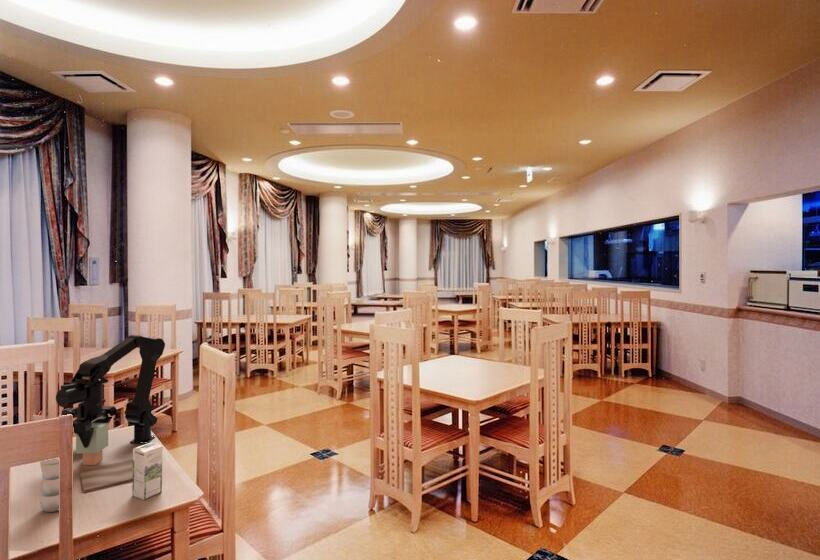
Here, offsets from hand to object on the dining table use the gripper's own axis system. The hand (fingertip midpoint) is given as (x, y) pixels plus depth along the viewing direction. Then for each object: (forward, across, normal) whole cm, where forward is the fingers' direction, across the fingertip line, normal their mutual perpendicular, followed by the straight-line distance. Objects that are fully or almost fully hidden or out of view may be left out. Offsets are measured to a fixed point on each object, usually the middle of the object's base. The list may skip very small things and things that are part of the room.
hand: (92, 443), depth 158 cm
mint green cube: (+2, 0, 0) cm, 2 cm away
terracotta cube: (+7, 0, 0) cm, 7 cm away
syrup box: (+7, +22, +29) cm, 37 cm away
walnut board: (+6, +10, +12) cm, 17 cm away
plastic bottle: (+7, +30, +8) cm, 32 cm away
